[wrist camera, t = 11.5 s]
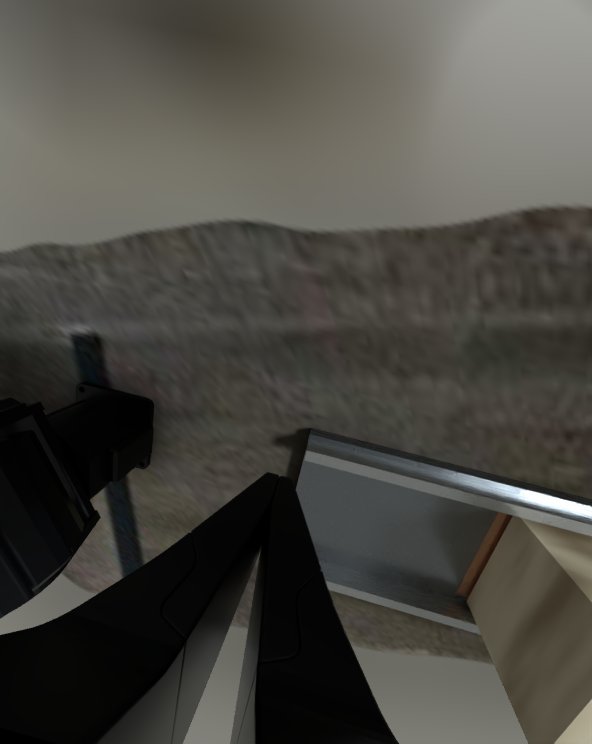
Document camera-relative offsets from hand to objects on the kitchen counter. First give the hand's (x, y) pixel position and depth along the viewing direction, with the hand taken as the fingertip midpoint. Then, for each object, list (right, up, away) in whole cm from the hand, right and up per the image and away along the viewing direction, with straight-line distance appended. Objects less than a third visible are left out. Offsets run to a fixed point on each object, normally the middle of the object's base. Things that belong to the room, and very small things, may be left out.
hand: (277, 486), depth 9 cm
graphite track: (+15, -10, +13) cm, 22 cm away
